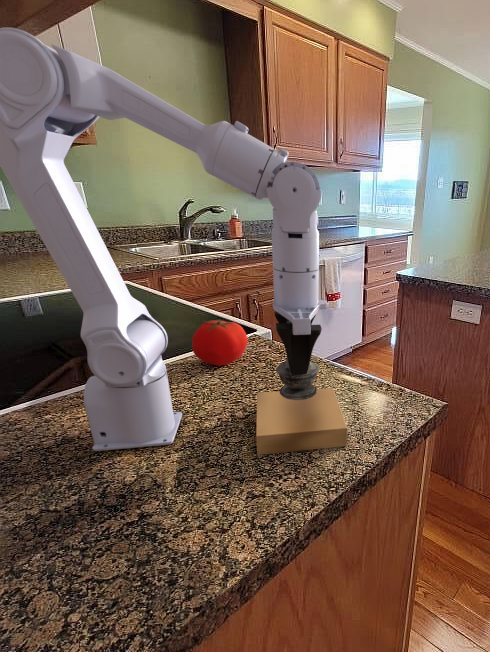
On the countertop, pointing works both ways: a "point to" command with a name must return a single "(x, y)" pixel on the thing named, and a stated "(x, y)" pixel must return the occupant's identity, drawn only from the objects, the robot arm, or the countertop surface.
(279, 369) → the grey chess piece
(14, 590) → the countertop surface
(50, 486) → the countertop surface
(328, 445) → the block
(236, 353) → the tomato
